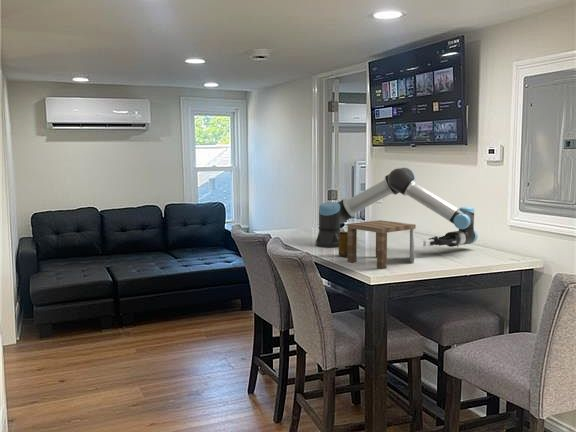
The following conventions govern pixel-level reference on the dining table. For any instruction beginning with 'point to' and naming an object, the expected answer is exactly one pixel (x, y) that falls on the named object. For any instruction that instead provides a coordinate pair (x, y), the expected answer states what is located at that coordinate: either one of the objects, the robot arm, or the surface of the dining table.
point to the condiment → (343, 244)
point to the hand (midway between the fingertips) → (424, 243)
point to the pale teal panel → (412, 245)
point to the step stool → (381, 238)
